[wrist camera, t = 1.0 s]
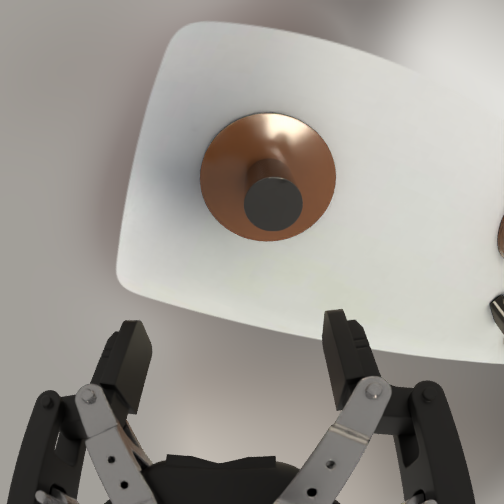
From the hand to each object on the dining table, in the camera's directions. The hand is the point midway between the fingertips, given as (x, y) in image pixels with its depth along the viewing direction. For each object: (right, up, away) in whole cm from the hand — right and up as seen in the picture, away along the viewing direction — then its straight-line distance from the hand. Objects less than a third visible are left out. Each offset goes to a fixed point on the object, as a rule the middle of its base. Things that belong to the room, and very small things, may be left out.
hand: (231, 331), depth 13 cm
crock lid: (+2, +10, +14) cm, 17 cm away
